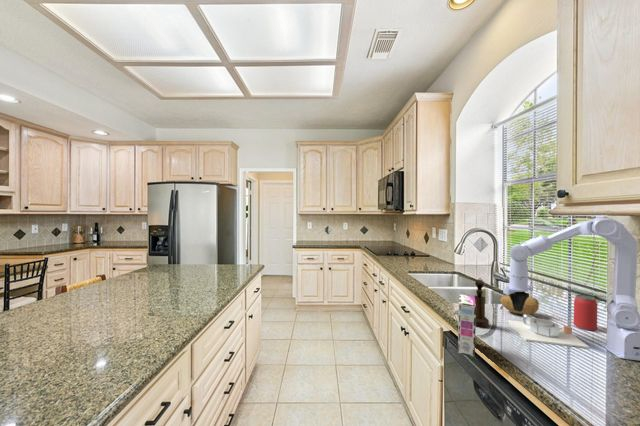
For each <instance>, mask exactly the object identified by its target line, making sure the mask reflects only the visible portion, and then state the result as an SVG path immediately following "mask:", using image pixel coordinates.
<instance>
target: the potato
mask: <svg viewBox="0 0 640 426" xmlns="http://www.w3.org/2000/svg"><path fill="white" fill-rule="evenodd" d="M499 300H500V302H501V303H500V304H501V305H502V306H503V307H504V308H505V309H506V310H507V311H509V312H511V313H513V314H516V315H521V316H523V314H524V313H526V314H531V315H532V314H535V313H537V312H538V311H539V308H540V306H539V305H540V303H539V301H538V300H539V299H537V298H536V297H533V296H529V297H528V298H527V300H526V301H525V303H524V306H523V309H522V311H521V312H518V311H515V310H514V307H513V304H512V301H511V298H510V296H509V295H507V294H504V295H503V296H501V297H500V299H499Z"/></svg>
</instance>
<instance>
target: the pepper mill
mask: <svg viewBox="0 0 640 426" xmlns="http://www.w3.org/2000/svg"><path fill="white" fill-rule="evenodd" d="M484 283H485V282H484V281H483V280H482V279H476V280H475V282H474V284H475V287H476V290H475V292H476V295H474V297H475V304H476V328H489V326H490V321H489V318H487V317H486V297H485V296H483V294H484V291H483V287H484V285H485V284H484Z"/></svg>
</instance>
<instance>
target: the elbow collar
mask: <svg viewBox="0 0 640 426" xmlns="http://www.w3.org/2000/svg"><path fill="white" fill-rule="evenodd" d="M536 319H538V318H537V317H535V316H533V315H532V314H526V313H524V314H523V315H522V322H524V323H526V324H528V325H530V330H532V331H533V332H535V333H538V334H541V335H545V336H550V337H556V336H559V326H560V325H559V324H558V323H555V322H554V321H552V320H550V321H551V322H553V327H547V326H542V325H539V324H537V323H536Z"/></svg>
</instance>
